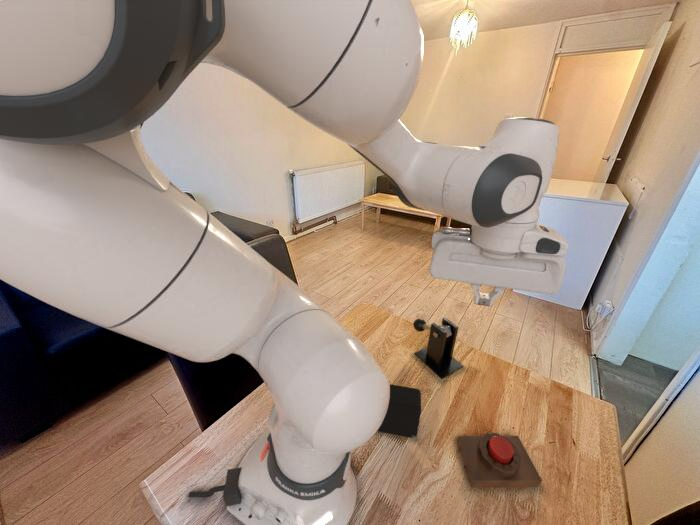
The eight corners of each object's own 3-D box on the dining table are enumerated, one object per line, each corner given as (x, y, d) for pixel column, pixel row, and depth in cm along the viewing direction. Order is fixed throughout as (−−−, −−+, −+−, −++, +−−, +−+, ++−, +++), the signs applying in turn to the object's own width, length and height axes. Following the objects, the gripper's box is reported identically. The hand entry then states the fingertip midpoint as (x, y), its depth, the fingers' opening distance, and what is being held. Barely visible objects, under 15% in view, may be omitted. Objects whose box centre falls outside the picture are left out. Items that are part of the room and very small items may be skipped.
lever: (412, 332, 81) (409, 320, 80) (421, 327, 82) (419, 316, 82) (444, 341, 70) (441, 327, 70) (454, 336, 72) (451, 322, 71)
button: (493, 464, 51) (495, 458, 50) (483, 441, 54) (485, 435, 54) (515, 463, 51) (518, 458, 50) (504, 441, 55) (506, 435, 54)
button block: (471, 487, 51) (476, 475, 49) (456, 442, 58) (459, 430, 56) (538, 487, 51) (545, 474, 49) (514, 442, 58) (520, 429, 56)
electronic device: (416, 439, 58) (421, 407, 54) (368, 429, 60) (369, 398, 56) (416, 420, 62) (421, 389, 58) (370, 412, 64) (372, 380, 59)
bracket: (413, 356, 79) (419, 319, 73) (434, 345, 82) (441, 310, 77) (441, 382, 71) (449, 343, 65) (462, 369, 75) (472, 331, 69)
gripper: (432, 232, 45) (422, 304, 51) (582, 247, 40) (551, 324, 46) (433, 220, 51) (424, 286, 57) (566, 231, 45) (540, 303, 52)
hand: (482, 303), depth 51 cm, fingers closed
